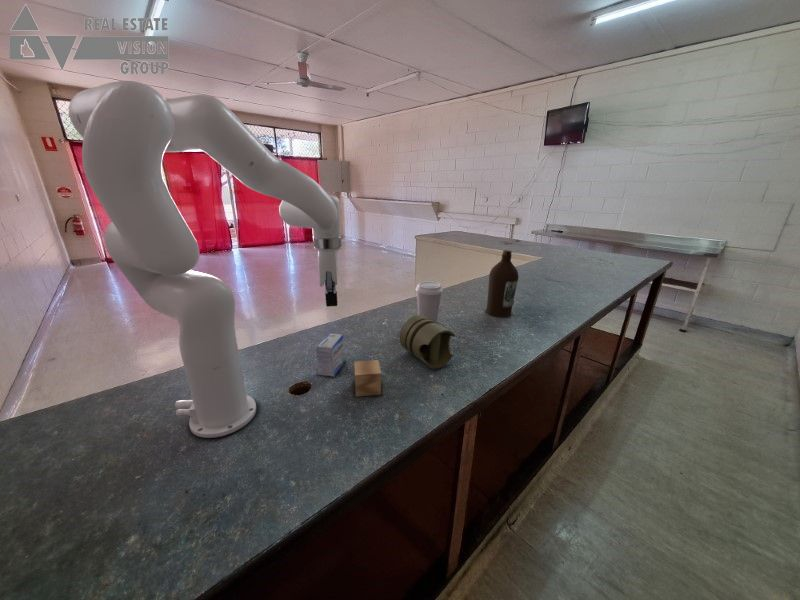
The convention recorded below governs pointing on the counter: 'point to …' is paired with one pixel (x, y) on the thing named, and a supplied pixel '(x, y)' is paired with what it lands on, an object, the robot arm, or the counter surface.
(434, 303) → the coffee cup
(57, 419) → the counter surface
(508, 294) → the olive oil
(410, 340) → the piston
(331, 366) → the medicine box
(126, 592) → the counter surface
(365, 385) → the maple block
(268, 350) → the counter surface
